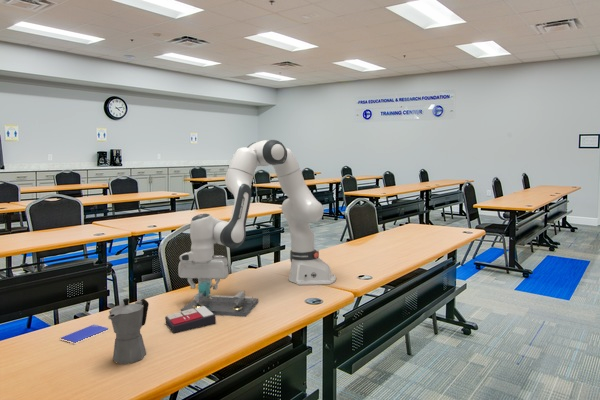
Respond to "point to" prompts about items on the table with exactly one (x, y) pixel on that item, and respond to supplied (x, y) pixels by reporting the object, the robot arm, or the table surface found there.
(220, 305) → the hole plate
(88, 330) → the hard drive
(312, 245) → the robot arm
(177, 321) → the calculator
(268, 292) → the table surface
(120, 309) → the coffeepot
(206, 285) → the slider
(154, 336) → the table surface
